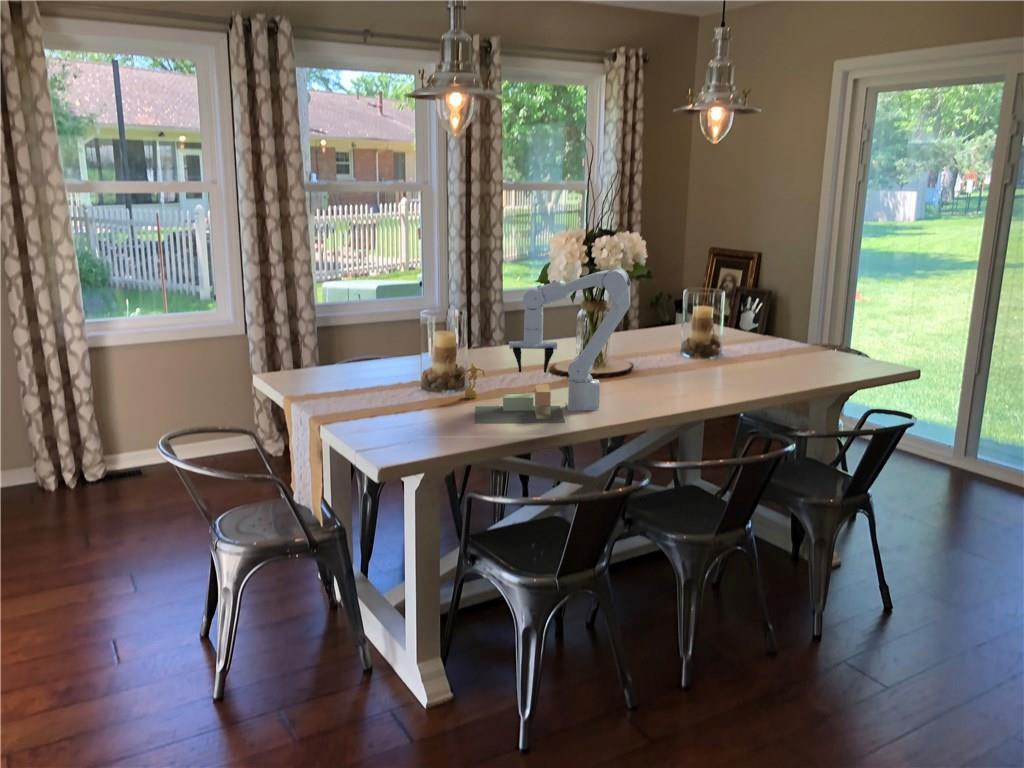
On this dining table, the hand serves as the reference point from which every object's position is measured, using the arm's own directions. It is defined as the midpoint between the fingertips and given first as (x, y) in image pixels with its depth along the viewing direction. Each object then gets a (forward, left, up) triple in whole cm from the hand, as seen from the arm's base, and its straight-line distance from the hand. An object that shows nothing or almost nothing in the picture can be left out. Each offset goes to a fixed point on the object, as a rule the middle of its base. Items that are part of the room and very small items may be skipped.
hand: (532, 371), depth 256 cm
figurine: (+19, -6, -11) cm, 22 cm away
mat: (+5, +12, -10) cm, 17 cm away
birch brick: (-2, +12, -10) cm, 16 cm away
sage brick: (+5, +6, -10) cm, 13 cm away
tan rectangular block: (-2, +12, -6) cm, 14 cm away
